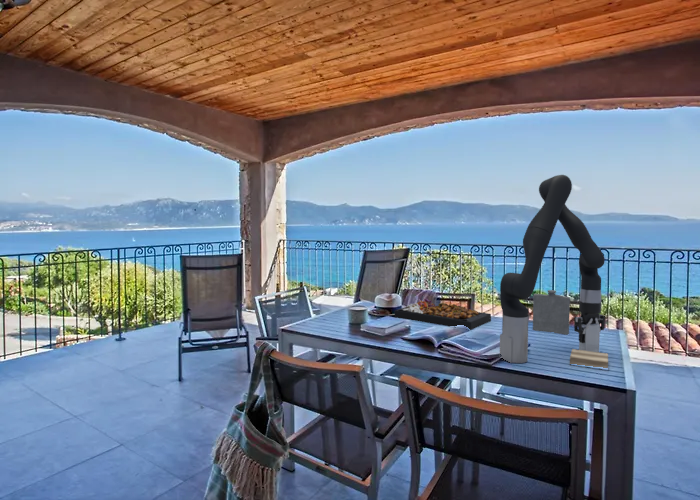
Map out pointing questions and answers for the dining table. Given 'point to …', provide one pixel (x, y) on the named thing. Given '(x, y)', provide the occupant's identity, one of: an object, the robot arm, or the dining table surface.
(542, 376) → the dining table surface
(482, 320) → the food platter
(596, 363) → the oak stand
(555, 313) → the hip flask
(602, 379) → the dining table surface
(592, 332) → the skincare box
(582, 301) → the robot arm
